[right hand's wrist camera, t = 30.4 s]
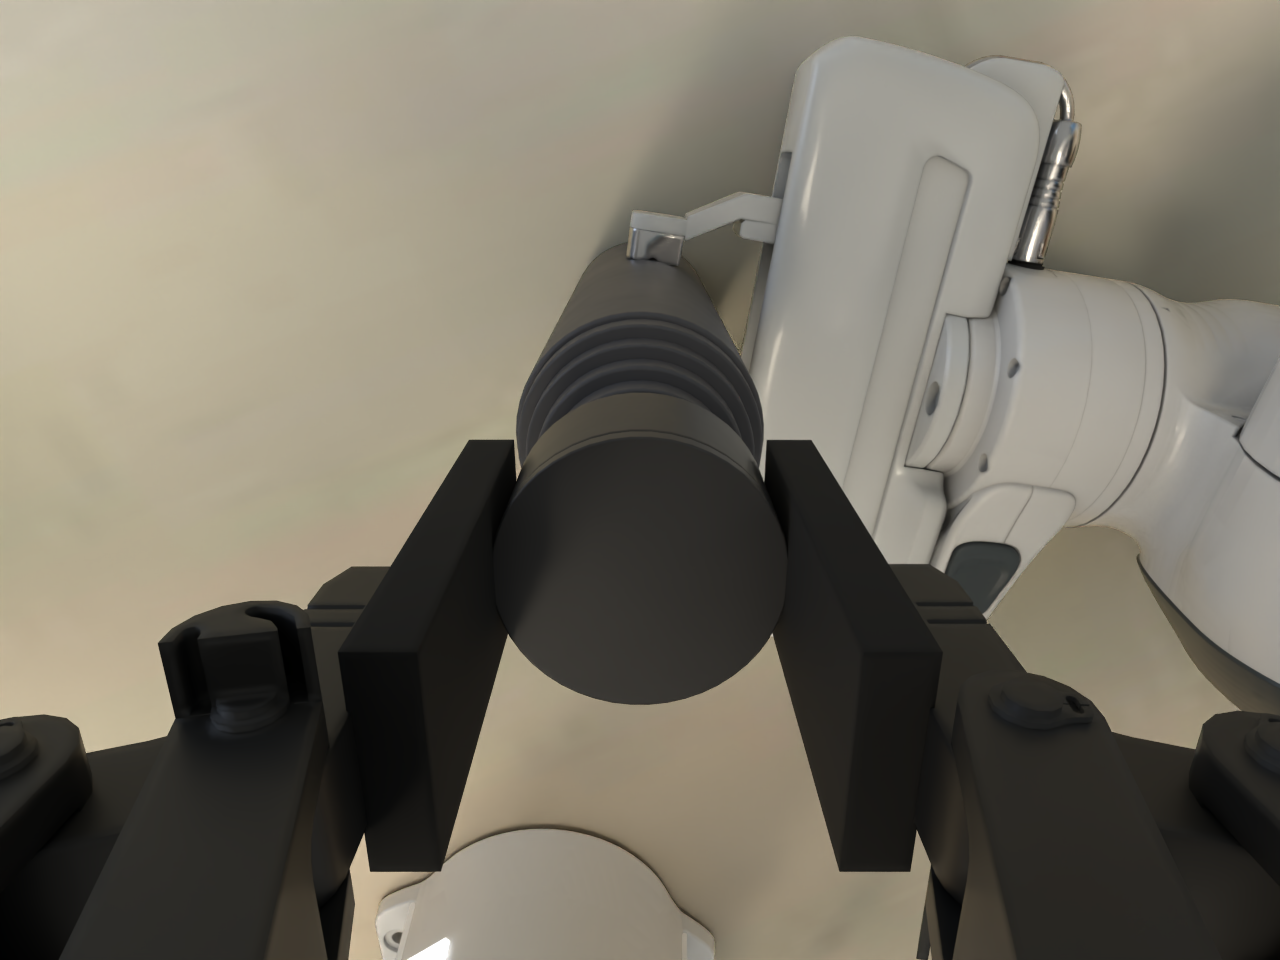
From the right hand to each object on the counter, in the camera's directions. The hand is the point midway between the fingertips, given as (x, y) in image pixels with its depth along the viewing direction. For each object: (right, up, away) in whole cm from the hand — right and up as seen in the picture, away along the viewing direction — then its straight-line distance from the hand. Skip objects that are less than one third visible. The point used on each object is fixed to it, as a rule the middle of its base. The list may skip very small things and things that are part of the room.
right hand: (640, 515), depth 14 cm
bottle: (0, +8, +20) cm, 22 cm away
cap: (0, -1, -2) cm, 2 cm away
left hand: (-1, +6, +14) cm, 15 cm away
